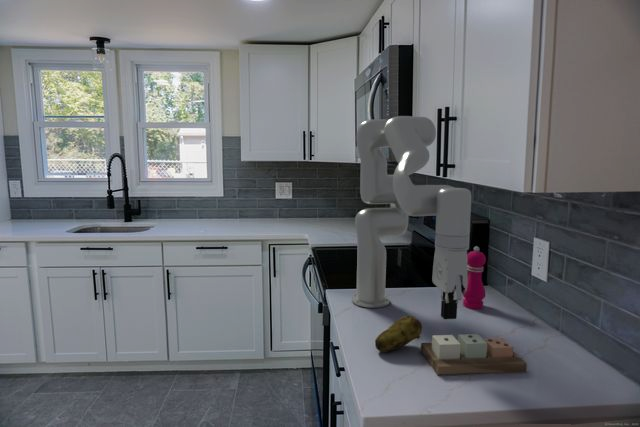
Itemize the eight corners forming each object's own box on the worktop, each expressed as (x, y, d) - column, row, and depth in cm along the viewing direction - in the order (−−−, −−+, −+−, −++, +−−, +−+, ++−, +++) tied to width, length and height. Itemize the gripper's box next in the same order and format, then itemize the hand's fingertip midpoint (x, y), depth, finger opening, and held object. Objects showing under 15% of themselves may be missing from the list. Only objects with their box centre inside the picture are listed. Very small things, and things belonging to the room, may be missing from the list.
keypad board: (420, 350, 108) (421, 342, 108) (499, 348, 110) (500, 340, 110) (437, 375, 96) (438, 366, 96) (526, 372, 98) (526, 363, 98)
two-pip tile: (457, 350, 105) (458, 333, 104) (476, 349, 105) (477, 333, 105) (465, 359, 100) (466, 343, 99) (486, 359, 101) (487, 342, 100)
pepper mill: (481, 302, 143) (485, 244, 140) (487, 310, 136) (491, 249, 133) (459, 301, 144) (462, 243, 141) (464, 309, 137) (467, 248, 134)
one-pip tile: (431, 350, 104) (432, 334, 104) (451, 350, 105) (452, 334, 104) (438, 360, 100) (439, 343, 99) (459, 360, 100) (460, 343, 99)
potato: (369, 342, 113) (369, 313, 111) (415, 339, 114) (416, 311, 113) (377, 357, 104) (378, 326, 103) (427, 354, 106) (429, 324, 105)
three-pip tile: (482, 353, 106) (483, 337, 105) (501, 353, 106) (502, 337, 106) (491, 363, 101) (493, 347, 100) (512, 363, 101) (513, 346, 101)
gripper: (425, 235, 105) (422, 307, 107) (448, 248, 90) (445, 331, 93) (454, 235, 106) (451, 306, 108) (482, 248, 91) (478, 330, 93)
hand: (448, 317), depth 100 cm, fingers closed
